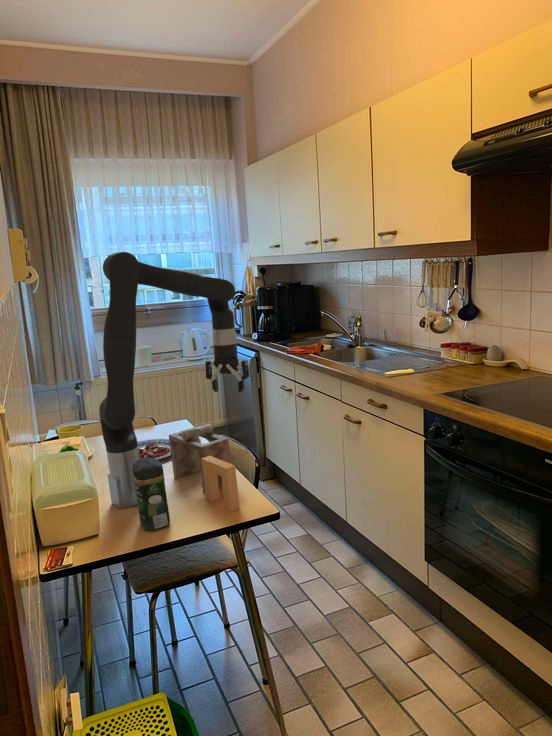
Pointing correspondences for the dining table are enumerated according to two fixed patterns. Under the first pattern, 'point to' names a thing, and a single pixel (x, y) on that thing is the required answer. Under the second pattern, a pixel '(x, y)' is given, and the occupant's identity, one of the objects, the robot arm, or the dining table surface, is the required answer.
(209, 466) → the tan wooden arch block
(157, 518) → the coffee jar
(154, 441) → the ceramic plate
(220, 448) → the shelf stand
